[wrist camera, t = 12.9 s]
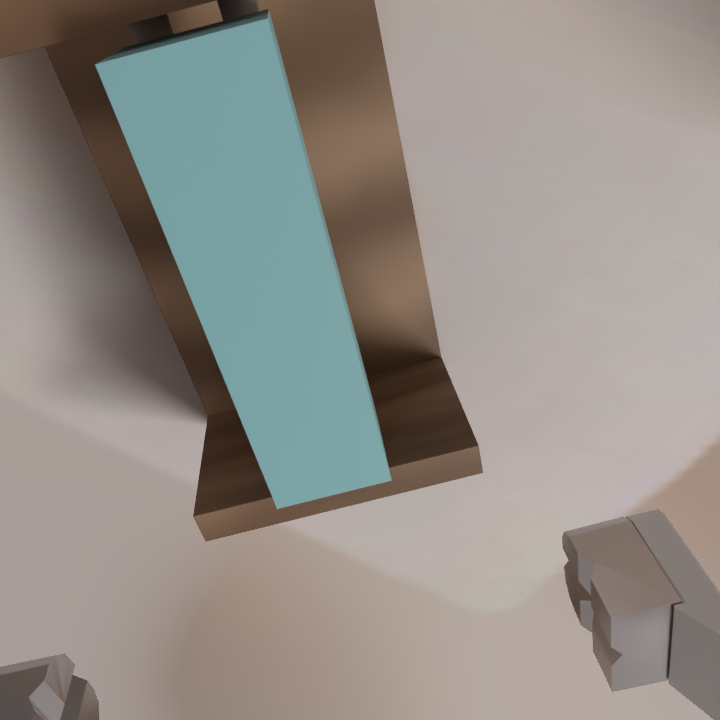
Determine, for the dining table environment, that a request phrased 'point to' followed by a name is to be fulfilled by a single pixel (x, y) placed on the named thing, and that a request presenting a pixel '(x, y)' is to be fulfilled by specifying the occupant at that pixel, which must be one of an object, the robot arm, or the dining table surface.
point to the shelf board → (252, 247)
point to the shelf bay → (342, 216)
